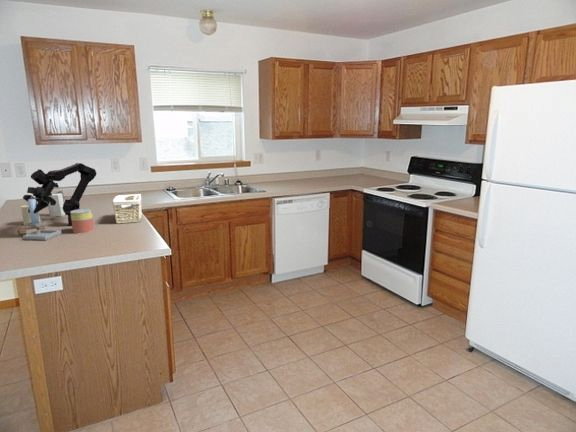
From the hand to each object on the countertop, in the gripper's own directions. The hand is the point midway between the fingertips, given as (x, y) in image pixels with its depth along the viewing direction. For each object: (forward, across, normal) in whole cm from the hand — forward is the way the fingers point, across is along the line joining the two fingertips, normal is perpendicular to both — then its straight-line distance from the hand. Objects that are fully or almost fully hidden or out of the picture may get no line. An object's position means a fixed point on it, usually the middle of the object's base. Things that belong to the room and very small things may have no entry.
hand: (31, 212), depth 218 cm
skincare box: (-21, -32, +40) cm, 55 cm away
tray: (+9, +5, +10) cm, 14 cm away
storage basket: (-25, +23, +45) cm, 56 cm away
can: (-5, -28, +25) cm, 38 cm away
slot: (+4, -12, +15) cm, 20 cm away
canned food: (-3, +16, +22) cm, 28 cm away
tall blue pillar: (+4, 0, +6) cm, 8 cm away
